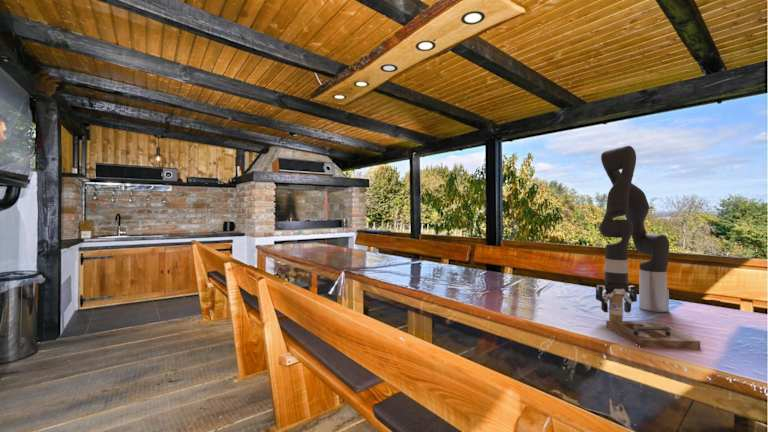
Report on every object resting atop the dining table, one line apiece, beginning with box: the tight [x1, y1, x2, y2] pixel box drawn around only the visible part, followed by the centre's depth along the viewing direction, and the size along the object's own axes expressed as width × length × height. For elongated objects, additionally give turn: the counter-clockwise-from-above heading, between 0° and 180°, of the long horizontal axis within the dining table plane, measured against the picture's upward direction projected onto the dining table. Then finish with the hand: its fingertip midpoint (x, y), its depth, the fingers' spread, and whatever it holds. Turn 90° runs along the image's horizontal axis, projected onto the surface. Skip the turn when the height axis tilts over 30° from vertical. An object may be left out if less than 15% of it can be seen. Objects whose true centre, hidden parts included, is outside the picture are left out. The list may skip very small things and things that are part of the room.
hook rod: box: [633, 325, 672, 336], centre depth 108 cm, size 11×1×3 cm, turn 85°
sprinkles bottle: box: [608, 289, 624, 321], centre depth 127 cm, size 5×5×13 cm
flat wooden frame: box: [606, 320, 701, 350], centre depth 112 cm, size 18×18×2 cm
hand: (615, 312), depth 127 cm, fingers open, 7 cm apart
